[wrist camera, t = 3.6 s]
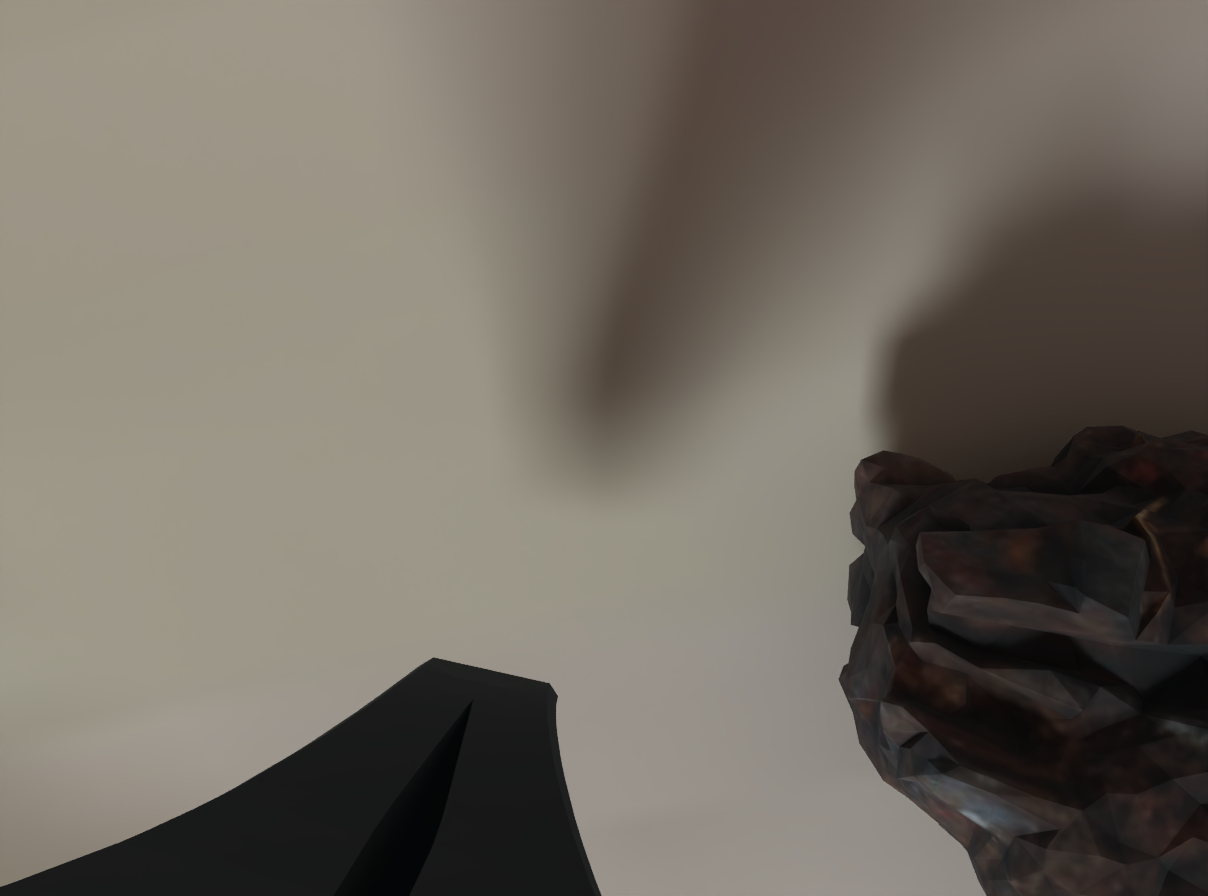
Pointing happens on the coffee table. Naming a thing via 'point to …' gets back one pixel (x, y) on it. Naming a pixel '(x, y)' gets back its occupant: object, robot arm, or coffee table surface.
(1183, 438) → the jagged brown rock
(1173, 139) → the coffee table surface
